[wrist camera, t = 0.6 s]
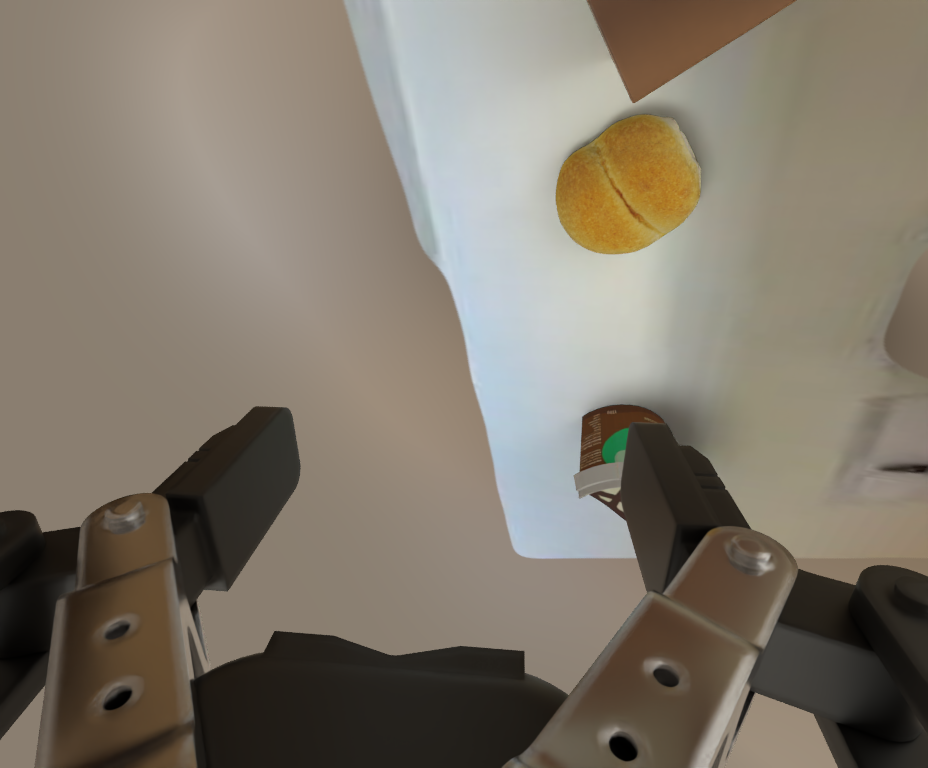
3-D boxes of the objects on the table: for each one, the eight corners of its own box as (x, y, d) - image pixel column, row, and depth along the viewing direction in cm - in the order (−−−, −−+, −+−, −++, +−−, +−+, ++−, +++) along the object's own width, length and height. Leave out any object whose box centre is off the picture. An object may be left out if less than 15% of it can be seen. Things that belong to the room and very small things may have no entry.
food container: (711, 440, 49) (739, 532, 42) (658, 469, 53) (675, 558, 45) (621, 372, 45) (635, 460, 38) (571, 409, 49) (574, 495, 41)
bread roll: (533, 178, 35) (531, 201, 32) (657, 85, 31) (668, 101, 28) (597, 266, 39) (600, 294, 36) (716, 194, 34) (732, 219, 31)
